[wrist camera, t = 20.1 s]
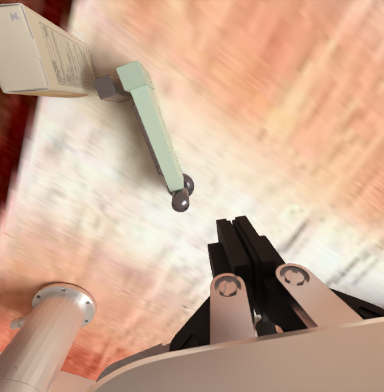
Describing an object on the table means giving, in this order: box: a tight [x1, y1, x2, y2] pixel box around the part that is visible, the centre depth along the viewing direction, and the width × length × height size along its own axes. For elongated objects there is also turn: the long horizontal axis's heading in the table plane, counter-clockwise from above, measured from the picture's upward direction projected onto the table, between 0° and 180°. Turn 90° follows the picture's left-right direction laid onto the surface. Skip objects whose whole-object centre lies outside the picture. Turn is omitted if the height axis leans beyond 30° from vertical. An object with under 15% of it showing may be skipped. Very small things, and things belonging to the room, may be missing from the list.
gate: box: [116, 60, 184, 192], centre depth 28 cm, size 16×2×7 cm, turn 18°
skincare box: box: [0, 3, 98, 98], centre depth 23 cm, size 6×4×12 cm
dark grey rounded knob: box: [168, 174, 194, 212], centre depth 32 cm, size 4×4×8 cm
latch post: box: [93, 75, 163, 175], centre depth 28 cm, size 3×14×7 cm, turn 17°
